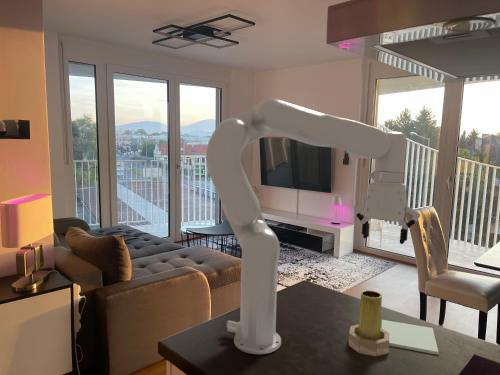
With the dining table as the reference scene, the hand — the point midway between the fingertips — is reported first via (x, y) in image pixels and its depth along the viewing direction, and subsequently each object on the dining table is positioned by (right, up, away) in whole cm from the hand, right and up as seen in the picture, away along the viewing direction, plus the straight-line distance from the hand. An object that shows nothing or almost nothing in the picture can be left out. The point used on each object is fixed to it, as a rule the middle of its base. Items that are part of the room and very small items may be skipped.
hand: (383, 240), depth 103 cm
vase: (-5, -28, -3) cm, 29 cm away
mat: (+7, -28, +2) cm, 29 cm away
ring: (-5, -28, -3) cm, 28 cm away
